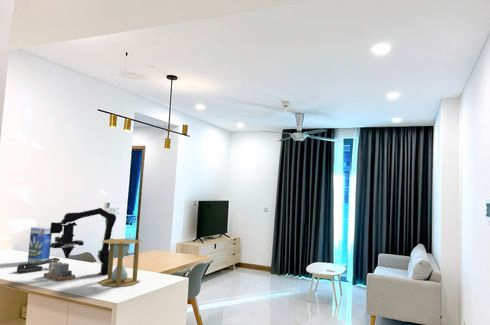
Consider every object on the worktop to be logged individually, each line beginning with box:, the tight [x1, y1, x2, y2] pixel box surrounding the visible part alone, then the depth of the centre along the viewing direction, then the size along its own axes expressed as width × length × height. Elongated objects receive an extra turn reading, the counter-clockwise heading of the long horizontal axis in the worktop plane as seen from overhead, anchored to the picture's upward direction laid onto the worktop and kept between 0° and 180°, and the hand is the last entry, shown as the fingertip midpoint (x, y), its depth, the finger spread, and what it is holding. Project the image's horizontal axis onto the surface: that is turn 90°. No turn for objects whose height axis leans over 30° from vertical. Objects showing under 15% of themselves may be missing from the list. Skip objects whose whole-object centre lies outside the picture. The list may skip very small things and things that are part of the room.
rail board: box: [43, 260, 76, 282], centre depth 220 cm, size 18×10×10 cm, turn 56°
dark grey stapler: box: [16, 257, 61, 275], centre depth 238 cm, size 9×7×25 cm
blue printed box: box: [27, 226, 53, 263], centre depth 263 cm, size 13×8×26 cm, turn 73°
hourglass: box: [97, 238, 143, 288], centre depth 215 cm, size 24×22×25 cm
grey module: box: [55, 262, 70, 276], centre depth 219 cm, size 4×6×6 cm
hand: (66, 258), depth 222 cm, fingers closed
